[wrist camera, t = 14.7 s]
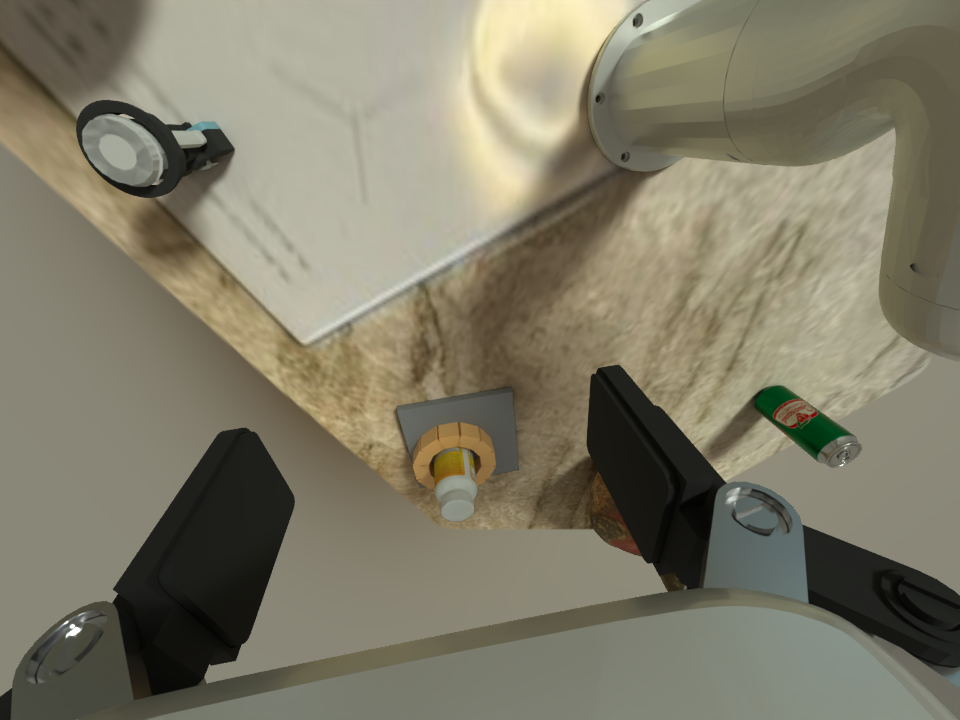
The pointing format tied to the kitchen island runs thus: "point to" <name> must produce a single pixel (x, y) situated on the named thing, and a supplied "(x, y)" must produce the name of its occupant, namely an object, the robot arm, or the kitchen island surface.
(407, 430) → the plate
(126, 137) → the push button
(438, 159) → the kitchen island surface
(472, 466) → the supplement bottle
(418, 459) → the collar
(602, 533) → the ceramic vessel
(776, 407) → the soda can
